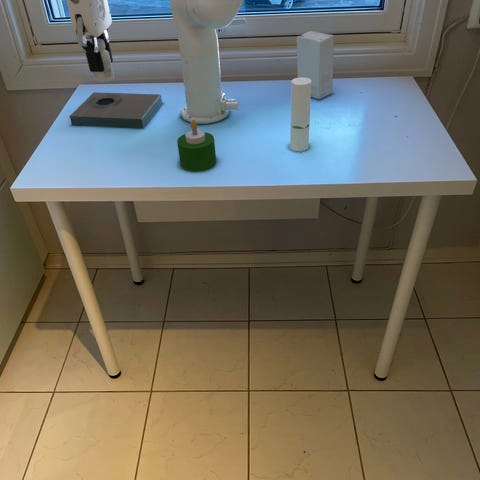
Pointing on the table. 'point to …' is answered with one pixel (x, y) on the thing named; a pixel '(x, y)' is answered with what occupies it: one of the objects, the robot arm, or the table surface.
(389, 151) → the table surface
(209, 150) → the candle
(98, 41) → the pill bottle
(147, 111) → the plate
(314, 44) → the cosmetic box
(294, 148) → the tube
